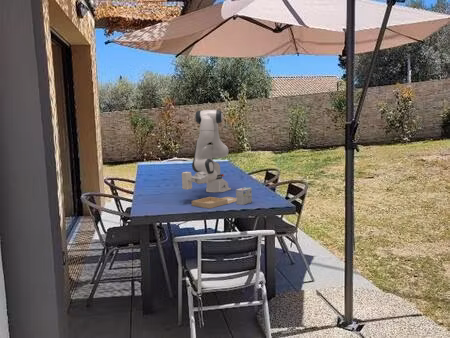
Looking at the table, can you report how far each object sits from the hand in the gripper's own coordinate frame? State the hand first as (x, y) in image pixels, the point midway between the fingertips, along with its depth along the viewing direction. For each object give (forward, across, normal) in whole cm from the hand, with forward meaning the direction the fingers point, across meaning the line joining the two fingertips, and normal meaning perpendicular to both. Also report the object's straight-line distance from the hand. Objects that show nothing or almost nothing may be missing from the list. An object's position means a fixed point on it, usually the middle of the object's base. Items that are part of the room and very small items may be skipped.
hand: (186, 180), depth 328 cm
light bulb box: (-24, +35, +17) cm, 45 cm away
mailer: (-15, +18, +17) cm, 29 cm away
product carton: (-1, 0, +6) cm, 6 cm away
